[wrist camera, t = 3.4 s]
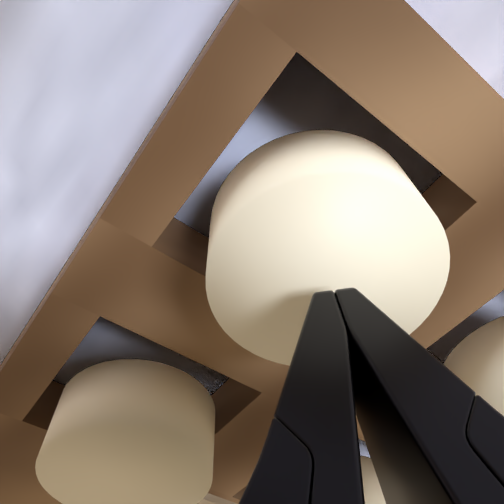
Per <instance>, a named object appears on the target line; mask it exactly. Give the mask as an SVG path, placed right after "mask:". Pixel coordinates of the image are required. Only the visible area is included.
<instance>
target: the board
mask: <svg viewBox="0 0 504 504" xmlns="http://www.w3.org/2000/svg"><path fill="white" fill-rule="evenodd" d="M296 52H298V53H299V54H300V55H301V56H303V57H304V58H305V59H306V60H307V61H309V62H310V63H311V64H312V65H313V66H315V67H316V68H317V69H318V70H319V71H321V72H322V73H323V74H324V75H325V76H327V77H328V78H329V79H330V80H331V81H333V82H334V83H335V84H336V85H337V86H339V87H340V88H341V89H342V90H343V91H345V92H346V93H347V94H348V95H349V96H350V97H352V98H353V99H354V100H355V101H356V102H358V103H359V104H360V105H361V106H362V107H364V108H365V109H366V110H367V111H368V112H370V113H371V114H372V115H373V116H374V117H376V118H377V119H378V120H379V121H380V122H382V123H383V124H384V125H385V126H386V127H388V128H389V129H390V130H391V131H392V132H394V133H395V134H396V135H397V136H398V137H400V138H401V139H402V140H403V141H404V142H406V143H407V144H408V145H409V146H410V147H412V148H413V149H414V150H415V151H416V152H418V153H419V154H420V155H421V156H422V157H424V158H425V159H426V160H427V161H428V162H430V163H431V164H432V165H433V166H434V167H436V168H437V169H438V170H439V171H440V172H442V173H443V174H442V175H441V176H440V177H439V178H438V179H437V180H436V181H435V182H434V183H433V184H432V185H431V186H430V187H429V188H428V189H427V190H426V191H425V192H424V193H422V194H421V195H422V197H423V198H424V199H425V201H426V202H427V203H428V205H429V206H430V208H431V209H432V210H433V212H434V213H435V214H436V216H437V217H438V219H439V221H440V223H441V224H442V226H443V228H444V230H445V233H446V237H447V240H448V244H449V251H450V269H449V274H448V278H447V282H446V285H445V288H444V291H443V293H442V295H441V297H440V299H439V301H438V303H437V305H436V306H435V307H434V309H433V310H432V312H431V313H430V315H429V316H428V317H427V318H426V319H425V320H424V321H423V323H422V324H421V325H420V326H419V327H418V328H417V329H415V330H414V331H413V332H412V333H411V334H410V336H411V337H412V338H414V339H415V340H416V341H417V342H418V343H419V344H421V345H422V346H423V347H424V348H425V349H427V348H428V347H429V346H431V345H432V344H433V343H434V342H436V341H437V340H438V339H440V338H441V337H442V336H444V335H445V334H446V333H448V332H449V331H450V330H452V329H453V328H454V327H455V326H457V325H458V324H459V323H461V322H462V321H463V320H465V319H466V318H467V317H469V316H470V315H471V314H473V313H474V312H475V311H476V310H478V309H479V308H480V307H482V306H483V305H484V304H486V303H487V302H488V301H490V300H491V299H492V298H494V297H495V296H496V295H497V294H499V293H500V292H501V291H503V290H504V99H503V98H502V97H501V96H500V95H499V94H498V93H497V92H496V91H495V90H494V89H493V88H492V87H491V86H490V85H489V84H488V83H487V82H486V81H485V80H484V79H483V78H482V77H481V76H480V75H479V74H478V73H477V72H476V71H475V70H474V69H473V68H472V67H471V66H470V65H469V64H468V63H467V62H466V61H465V60H464V59H463V58H462V57H461V56H460V55H459V54H458V53H457V52H456V51H455V50H454V49H453V48H452V47H451V46H450V45H449V44H448V43H447V42H446V41H445V40H444V39H443V38H442V37H441V36H440V35H439V34H438V33H437V32H436V31H435V30H434V29H433V28H432V27H431V26H430V25H429V24H428V23H427V22H426V21H425V20H424V19H423V18H422V17H421V16H420V15H419V14H418V13H417V12H416V11H415V10H414V9H413V8H412V7H411V6H410V5H409V4H408V3H407V2H406V1H405V0H234V1H233V2H232V4H231V5H230V7H229V9H228V10H227V12H226V13H225V15H224V16H223V18H222V20H221V21H220V23H219V24H218V26H217V27H216V29H215V30H214V32H213V34H212V35H211V37H210V38H209V40H208V41H207V43H206V45H205V46H204V48H203V49H202V51H201V52H200V54H199V56H198V57H197V59H196V60H195V62H194V63H193V65H192V66H191V68H190V70H189V71H188V73H187V74H186V76H185V77H184V79H183V81H182V82H181V84H180V85H179V87H178V88H177V90H176V92H175V93H174V95H173V96H172V98H171V99H170V101H169V102H168V104H167V106H166V107H165V109H164V110H163V112H162V113H161V115H160V117H159V118H158V120H157V121H156V123H155V124H154V126H153V128H152V129H151V131H150V132H149V134H148V135H147V137H146V138H145V140H144V142H143V143H142V145H141V146H140V148H139V149H138V151H137V153H136V154H135V156H134V157H133V159H132V160H131V162H130V163H129V165H128V167H127V168H126V170H125V171H124V173H123V174H122V176H121V178H120V179H119V181H118V182H117V184H116V185H115V187H114V189H113V190H112V192H111V193H110V195H109V196H108V198H107V199H106V201H105V203H104V204H103V206H102V207H101V209H100V210H99V212H98V214H97V215H96V217H95V218H94V220H93V221H92V223H91V225H90V226H89V228H88V229H87V231H86V232H85V234H84V235H83V237H82V239H81V240H80V242H79V243H78V245H77V246H76V248H75V250H74V251H73V253H72V254H71V256H70V257H69V259H68V261H67V262H66V264H65V265H64V267H63V268H62V270H61V271H60V273H59V275H58V276H57V278H56V279H55V281H54V282H53V284H52V286H51V287H50V289H49V290H48V292H47V293H46V295H45V297H44V298H43V300H42V301H41V303H40V304H39V306H38V307H37V309H36V311H35V312H34V314H33V315H32V317H31V318H30V320H29V322H28V323H27V325H26V326H25V328H24V329H23V331H22V333H21V334H20V336H19V337H18V339H17V340H16V342H15V343H14V345H13V347H12V348H11V350H10V351H9V353H8V354H7V356H6V358H5V359H4V361H3V362H2V364H1V365H0V504H62V503H61V502H59V501H58V500H56V499H55V498H53V497H52V496H51V495H50V494H49V493H48V492H47V491H46V490H45V489H44V488H43V487H42V485H41V484H40V482H39V481H38V478H37V475H36V470H35V464H36V459H37V457H38V454H39V451H40V449H41V446H42V444H43V441H44V438H45V436H46V433H47V431H48V428H49V425H50V423H51V420H52V418H53V415H54V412H55V410H56V407H57V405H58V402H59V400H60V397H61V394H62V392H63V389H64V388H65V386H64V385H62V384H60V383H57V382H55V381H52V380H53V379H54V377H55V376H56V375H57V373H58V372H59V371H60V369H61V368H62V367H63V365H64V364H65V363H66V361H67V360H68V359H69V357H70V356H71V355H72V353H73V352H74V350H75V349H76V348H77V346H78V345H79V344H80V342H81V341H82V340H83V338H84V337H85V336H86V334H87V333H88V332H89V330H90V329H91V328H92V326H93V325H94V324H95V322H96V321H97V320H98V318H99V317H100V316H101V317H103V318H105V319H107V320H109V321H111V322H113V323H115V324H118V325H120V326H122V327H124V328H126V329H128V330H130V331H132V332H134V333H137V334H139V335H141V336H143V337H145V338H147V339H149V340H151V341H153V342H156V343H158V344H160V345H162V346H164V347H166V348H168V349H170V350H172V351H175V352H177V353H179V354H181V355H183V356H185V357H187V358H189V359H191V360H194V361H196V362H198V363H200V364H202V365H204V366H206V367H208V368H210V369H213V370H215V371H217V372H219V373H221V374H223V375H225V376H227V377H229V379H228V380H227V381H226V382H225V383H224V384H223V385H222V386H221V387H220V388H219V389H218V390H217V391H216V392H215V393H214V394H213V395H212V396H211V397H212V399H213V402H214V405H215V435H214V458H213V481H212V485H211V488H210V490H209V492H208V493H207V494H206V496H205V497H204V498H203V499H202V500H201V501H200V502H199V503H197V504H239V501H240V499H241V497H242V495H243V493H244V491H245V489H246V487H247V484H248V482H249V480H250V478H251V475H252V473H253V471H254V469H255V466H256V464H257V462H258V459H259V456H260V454H261V451H262V448H263V445H264V443H265V440H266V437H267V434H268V431H269V428H270V425H271V422H272V419H273V418H274V413H275V410H276V407H277V404H278V401H279V398H280V395H281V391H282V388H283V385H284V382H285V379H286V376H287V373H288V370H289V367H290V366H289V365H284V364H280V363H276V362H273V361H270V360H266V359H264V358H262V357H259V356H257V355H255V354H253V353H251V352H250V351H248V350H246V349H244V348H243V347H242V346H240V345H239V344H238V343H236V342H235V341H234V340H233V339H232V338H231V337H230V336H229V335H228V334H227V333H226V332H225V331H224V330H223V329H222V327H221V326H220V325H219V323H218V322H217V320H216V318H215V317H214V315H213V313H212V311H211V308H210V305H209V302H208V298H207V293H206V265H207V254H208V243H209V238H207V237H206V236H204V235H202V234H201V233H199V232H197V231H196V230H194V229H192V228H191V227H189V226H187V225H186V224H184V223H182V222H180V221H179V220H177V219H175V218H174V216H175V215H176V213H177V212H178V211H179V209H180V208H181V207H182V205H183V204H184V203H185V201H186V200H187V199H188V197H189V196H190V195H191V193H192V192H193V191H194V189H195V188H196V186H197V185H198V184H199V182H200V181H201V180H202V178H203V177H204V176H205V174H206V173H207V172H208V170H209V169H210V168H211V166H212V165H213V164H214V162H215V161H216V160H217V158H218V157H219V156H220V154H221V153H222V152H223V150H224V149H225V147H226V146H227V145H228V143H229V142H230V141H231V139H232V138H233V137H234V135H235V134H236V133H237V131H238V130H239V129H240V127H241V126H242V125H243V123H244V122H245V121H246V119H247V118H248V117H249V115H250V114H251V113H252V111H253V110H254V109H255V107H256V106H257V104H258V103H259V102H260V100H261V99H262V98H263V96H264V95H265V94H266V92H267V91H268V90H269V88H270V87H271V86H272V84H273V83H274V82H275V80H276V79H277V78H278V76H279V75H280V74H281V72H282V71H283V70H284V68H285V67H286V65H287V64H288V63H289V61H290V60H291V59H292V57H293V56H294V55H295V53H296ZM356 419H357V416H356ZM357 429H358V439H360V440H363V441H365V439H364V436H363V433H362V431H361V428H360V425H359V422H358V419H357Z"/></svg>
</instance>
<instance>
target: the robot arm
mask: <svg viewBox="0 0 504 504" xmlns="http://www.w3.org/2000/svg"><path fill="white" fill-rule="evenodd" d="M356 416H357V419H358V422H359V425H360V428H361V431H362V433H363V436H364V439H365V442H366V445H367V448H368V451H369V454H370V457H371V460H372V463H373V466H374V469H375V472H376V475H377V478H378V481H379V484H380V487H381V490H382V493H383V496H384V499H385V502H386V504H504V416H503V415H502V414H500V413H499V412H498V411H497V410H496V409H494V408H493V407H492V406H491V405H490V404H489V403H488V402H486V401H485V400H484V399H483V398H482V397H481V396H479V395H476V393H475V391H473V390H472V389H471V388H470V387H469V386H468V385H467V384H465V383H464V382H463V381H462V380H461V379H460V378H459V377H457V376H456V375H455V374H454V373H453V372H452V371H450V370H449V369H448V368H447V367H446V366H445V365H444V364H442V363H441V362H440V361H439V360H438V359H437V358H435V357H434V356H433V355H432V354H431V353H430V352H429V351H427V350H426V349H425V348H424V347H423V346H422V345H421V344H419V343H418V342H417V341H416V340H415V339H414V338H412V337H411V336H410V335H409V334H408V333H407V332H406V331H404V330H403V329H402V328H401V327H400V326H399V325H398V324H396V323H395V322H394V321H393V320H392V319H391V318H389V317H388V316H387V315H386V314H385V313H384V312H383V311H381V310H380V309H379V308H378V307H377V306H376V305H374V304H373V303H372V302H371V301H370V300H369V299H368V298H366V297H365V296H364V295H363V294H362V293H361V292H360V291H358V290H357V289H356V288H352V287H351V288H344V289H337V290H335V292H333V291H332V290H328V291H320V292H315V293H314V294H313V295H312V298H311V301H310V304H309V307H308V310H307V314H306V317H305V320H304V323H303V326H302V329H301V332H300V335H299V339H298V342H297V345H296V348H295V351H294V354H293V357H292V360H291V363H290V367H289V370H288V373H287V376H286V379H285V382H284V385H283V388H282V391H281V395H280V398H279V401H278V404H277V407H276V410H275V413H274V418H273V419H272V422H271V425H270V428H269V431H268V434H267V437H266V440H265V443H264V445H263V448H262V451H261V454H260V456H259V459H258V462H257V464H256V466H255V469H254V471H253V473H252V475H251V478H250V480H249V482H248V484H247V487H246V489H245V491H244V493H243V495H242V497H241V499H240V501H239V504H365V499H364V489H363V479H362V469H361V459H360V449H359V439H358V429H357V419H356Z"/></svg>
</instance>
